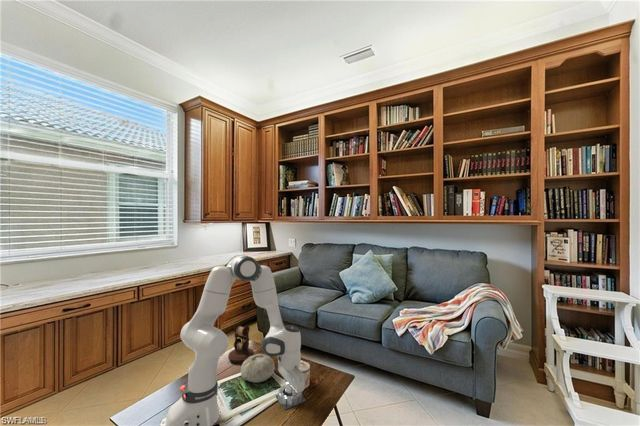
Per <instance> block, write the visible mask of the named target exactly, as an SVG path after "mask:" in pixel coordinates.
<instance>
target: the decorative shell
mask: <svg viewBox="0 0 640 426" xmlns="http://www.w3.org/2000/svg"><path fill="white" fill-rule="evenodd" d="M275 369H276V366H275V361H274V359H273V358H272V356H268V355H267V354H265V353H264V354H263V353H257V354H254V355H252V356H250V357H249V358H247V359H246V360H245V361H244V362H242V363H241V367H240V376H241V378H242V379H243V380H245V381H247V382H250V383H254V384H257V383H261V382H265V381H267V380H268V379H270V378H271V376H273V375H274V372H275Z"/></svg>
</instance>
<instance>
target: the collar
mask: <svg viewBox="0 0 640 426" xmlns="http://www.w3.org/2000/svg"><path fill="white" fill-rule="evenodd" d="M277 394H278V395H276V394H275V395H276V397H275V398H276V400H277V401H278V403H279V404H280V406H281V407H282V408H283V410H284V411H286V410H288V409H291V408H293V407H296V406H298V405H300V404H302V403H305V402H307V399H306V398H305V397H304V395H303V391H302V392H299V393H297V392H296V395H295V396H286V395H285V384H284V385H282V386H281V387H279V389H278V393H277Z"/></svg>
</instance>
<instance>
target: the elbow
mask: <svg viewBox="0 0 640 426" xmlns="http://www.w3.org/2000/svg"><path fill="white" fill-rule="evenodd" d="M284 385H285V395H286V396H293V395H292V394H291V391H292V390H293V389H292V386H291V385H290V384H289V383H288V382H287V381H284Z"/></svg>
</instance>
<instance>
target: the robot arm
mask: <svg viewBox="0 0 640 426" xmlns="http://www.w3.org/2000/svg"><path fill="white" fill-rule="evenodd" d="M236 280H240V281H243V282H244V281H245V282H250V285H251V290H252V291H251V292H252V297H253V300H254V303H255V305H256V306H258V307H259V308H261V309H265V310H266V312H267V316H268V321H269V325H270V326H269V330H268V332H267V334H266V335H265V337H264V338H263V340H262V343H261V349H262V351H263V353H264V354H265V355H267V356H269V357H277V370H278V373H279V374H280V375H281V376H282V377H283V380H284V381H283V382H285V381H287V382H288V383H289V384H290V385H291V386H292V389H293V390H292V391H291V394H292V395H293V396H295V395H296V392H297V393H299V392H302V393H303V392H304V390H305V389H306V388H305V385H304V375H303V373H302V372H301V370H300V369H299V367H300V361H301V359H302V358H301V357H302V355H301V348H302V338H301V337H302V335H301V330H300V329H299V327H297V326H295V325H293V324H292V325H291V324H288V325H287V324H286V325H285V323H284V320H283V318H282V312H281V310H280V305H279V302H278V301H279V300H278V294H277V288H276V283H275V278H274V275H273V272H272V269H271V268H270V266H267V265H260V264H259V263H258V261H257V260H256V259H255V258H254V257H252V256H249V255H245V254H240V255H239V254H238V255H234V256H233V257H231V258H230V260H229V261H227V263H226V264H225V265H218V266H215V267H213V268H212V269H211V271H210V273H209V275H208V277H207V280H206V282H205V284H204V288H203V292H202V294H201V298H200V301H199V304H198V306H197V309H196V312H195V313H194V315H193V316H192V318H191V319H189V321H187V323H185V324H184V325H183V327H182V328H181V330H180V335H179V337H180V340H181V341H182V342H183V345H185V346H186V347H187V348H189V349H190V350H193V352H194V355H195V358H194V361H193V362H192V363H191V365H189V367H188V372H187V373H188V376H187V377H188V379H187V386H186V385H185V384H184V385H181V386H180V387H179V389H180V393H181V394H182V395H181V397H180V398H179V399H178V400H176V402H174V403H173V404H172V405H171V406H170V407H169V408H168V410H167V413H166V417H164V418H163V419H162V420H161V421H160V424H159V426H213V425H215V424H216V423H215V421H216V420H217V418H218V416H219V412H220V409H219V404H218V397H217V396H218V392H219V391H218V390H219V385H218V382H219V381H218V379H217V378H218V377H217V375H218V364H219V360H220V358H221V357H223V355H224V354H225V353H226V352H227V350H228V347H229V343H230V341H229V336H228V335H227V334H225V332H223V330H222V329H220V328H218V327H215V326H214V325H215V323H216V321H217V319H218V317H219V316H221V315H223V314H224V313H225V312H226V309H227V305H228V301H229V298H230V293H231V289H232V286H233V284H234V282H235V281H236ZM304 388H305V389H304ZM219 417H220V416H219ZM218 419H219V418H218ZM217 421H218V420H217ZM217 421H216V422H217ZM214 423H215V424H214Z"/></svg>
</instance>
